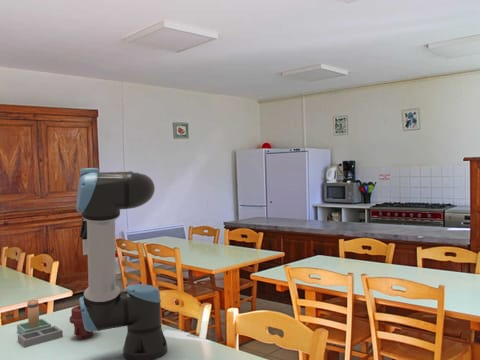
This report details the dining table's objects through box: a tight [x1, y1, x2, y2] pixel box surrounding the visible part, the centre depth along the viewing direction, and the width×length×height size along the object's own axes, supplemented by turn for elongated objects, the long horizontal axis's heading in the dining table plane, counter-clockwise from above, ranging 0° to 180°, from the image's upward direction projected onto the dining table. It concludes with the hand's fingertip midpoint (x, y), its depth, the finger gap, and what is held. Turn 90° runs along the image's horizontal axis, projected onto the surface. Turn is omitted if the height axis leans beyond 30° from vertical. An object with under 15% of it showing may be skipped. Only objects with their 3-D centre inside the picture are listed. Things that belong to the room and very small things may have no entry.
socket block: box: [17, 325, 64, 348], centre depth 174 cm, size 8×14×2 cm, turn 132°
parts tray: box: [16, 318, 52, 335], centre depth 182 cm, size 10×10×3 cm
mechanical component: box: [68, 304, 94, 341], centre depth 175 cm, size 12×10×10 cm
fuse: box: [26, 299, 40, 329], centre depth 182 cm, size 4×4×12 cm
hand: (93, 256), depth 187 cm, fingers open, 13 cm apart
